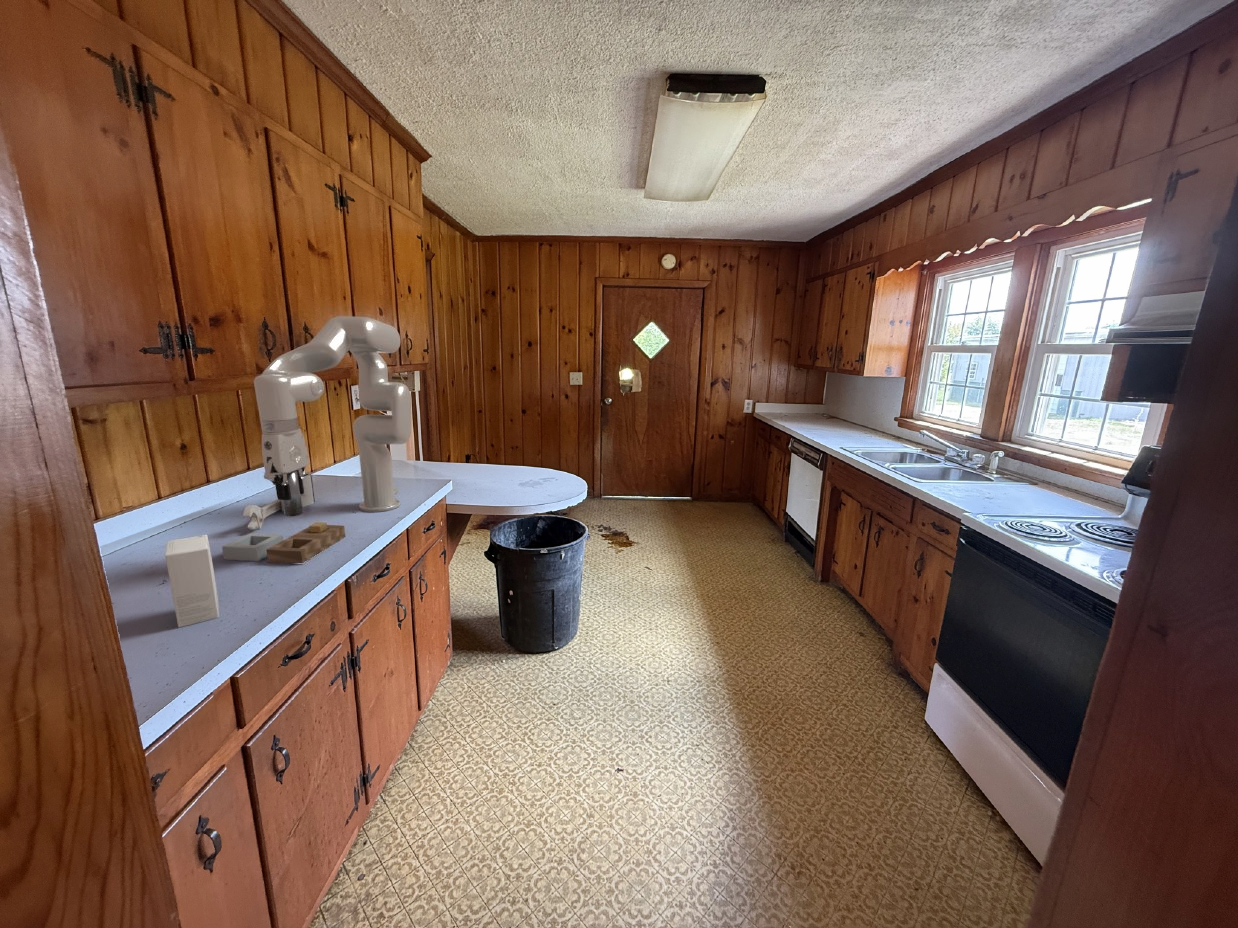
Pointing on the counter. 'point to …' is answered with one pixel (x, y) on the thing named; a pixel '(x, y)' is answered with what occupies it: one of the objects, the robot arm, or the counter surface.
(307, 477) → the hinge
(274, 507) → the wrench
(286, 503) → the grey metal rounded cylinder
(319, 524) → the tan square peg
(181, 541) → the skincare box
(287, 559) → the socket block
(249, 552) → the holder
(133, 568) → the counter surface
